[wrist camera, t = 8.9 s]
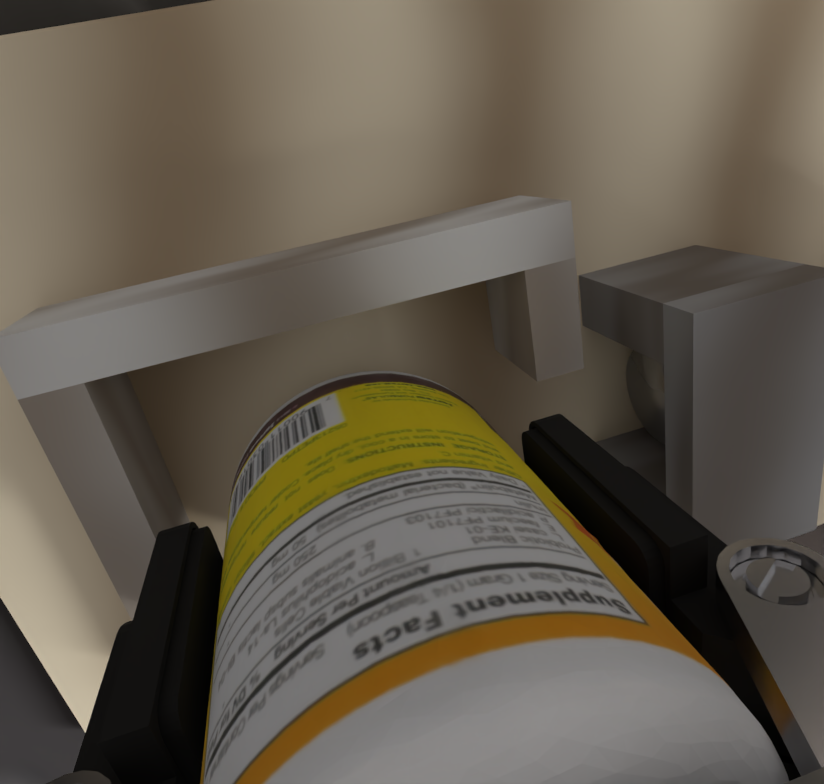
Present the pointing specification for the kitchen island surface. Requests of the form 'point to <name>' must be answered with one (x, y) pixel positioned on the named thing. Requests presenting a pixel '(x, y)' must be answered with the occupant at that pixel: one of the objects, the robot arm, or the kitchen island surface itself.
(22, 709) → the kitchen island surface
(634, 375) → the lock pin
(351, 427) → the supplement bottle
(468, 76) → the dock
